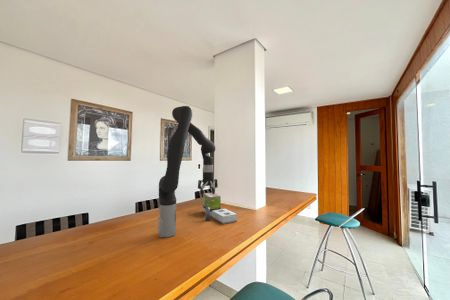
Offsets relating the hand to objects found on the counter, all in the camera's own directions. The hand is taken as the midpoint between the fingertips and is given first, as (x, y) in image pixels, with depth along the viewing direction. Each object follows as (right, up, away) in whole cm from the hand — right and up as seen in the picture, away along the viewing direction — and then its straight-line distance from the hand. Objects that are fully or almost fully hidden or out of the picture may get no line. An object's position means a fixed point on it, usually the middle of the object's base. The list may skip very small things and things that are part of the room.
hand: (207, 194), depth 130 cm
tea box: (+1, -19, +16) cm, 25 cm away
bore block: (+11, -18, +1) cm, 21 cm away
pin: (0, -18, -1) cm, 18 cm away
